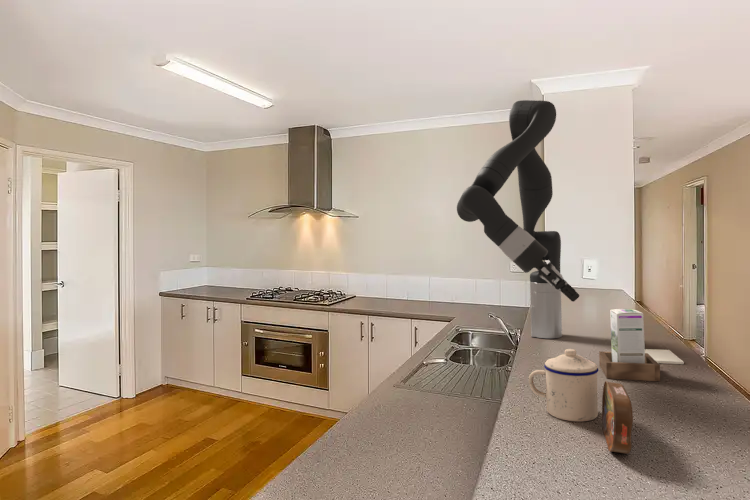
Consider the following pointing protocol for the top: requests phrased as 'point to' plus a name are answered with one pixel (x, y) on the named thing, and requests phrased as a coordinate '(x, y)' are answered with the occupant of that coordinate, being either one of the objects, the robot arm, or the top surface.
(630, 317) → the syrup box
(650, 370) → the walnut collar
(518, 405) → the top surface
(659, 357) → the cream board
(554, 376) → the teacup with lid
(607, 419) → the tin
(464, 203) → the robot arm
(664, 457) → the top surface
